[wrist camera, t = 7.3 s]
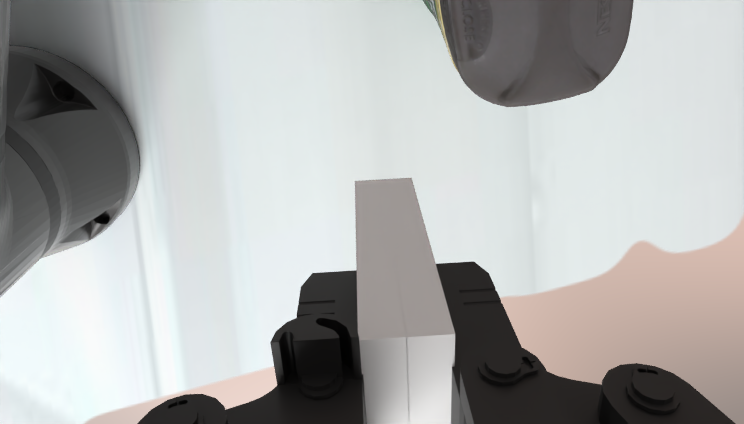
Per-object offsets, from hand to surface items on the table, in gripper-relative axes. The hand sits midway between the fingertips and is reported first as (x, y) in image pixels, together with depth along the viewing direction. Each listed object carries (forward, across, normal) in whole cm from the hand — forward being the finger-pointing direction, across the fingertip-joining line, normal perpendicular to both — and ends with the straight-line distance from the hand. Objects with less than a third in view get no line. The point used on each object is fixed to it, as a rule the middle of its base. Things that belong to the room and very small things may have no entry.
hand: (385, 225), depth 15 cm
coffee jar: (+27, +7, +8) cm, 29 cm away
